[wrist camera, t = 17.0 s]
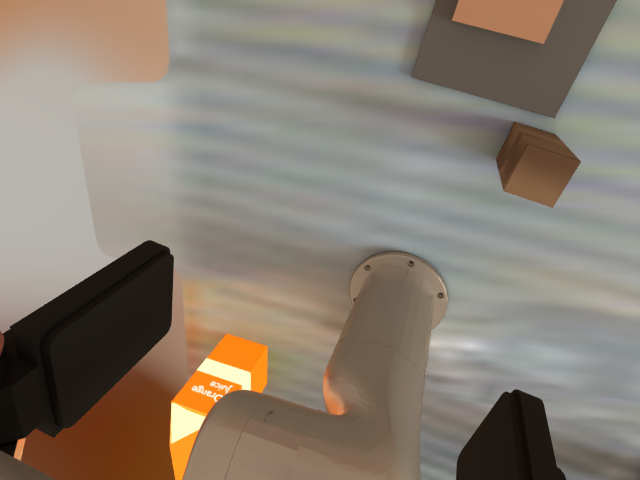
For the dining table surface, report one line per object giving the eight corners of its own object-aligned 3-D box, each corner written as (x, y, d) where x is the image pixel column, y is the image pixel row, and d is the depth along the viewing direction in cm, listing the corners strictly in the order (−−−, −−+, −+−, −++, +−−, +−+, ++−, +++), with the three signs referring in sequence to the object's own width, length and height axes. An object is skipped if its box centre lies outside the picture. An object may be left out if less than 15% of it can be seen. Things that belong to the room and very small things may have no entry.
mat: (553, 116, 38) (554, 118, 37) (412, 76, 40) (411, 76, 39) (655, -79, 30) (659, -82, 29) (474, -115, 32) (474, -118, 32)
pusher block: (534, 172, 40) (552, 207, 32) (496, 159, 41) (503, 191, 32) (555, 134, 38) (580, 161, 30) (514, 121, 39) (527, 144, 30)
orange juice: (268, 346, 64) (197, 456, 47) (267, 384, 68) (202, 497, 51) (225, 333, 66) (142, 434, 49) (227, 370, 70) (151, 475, 53)
